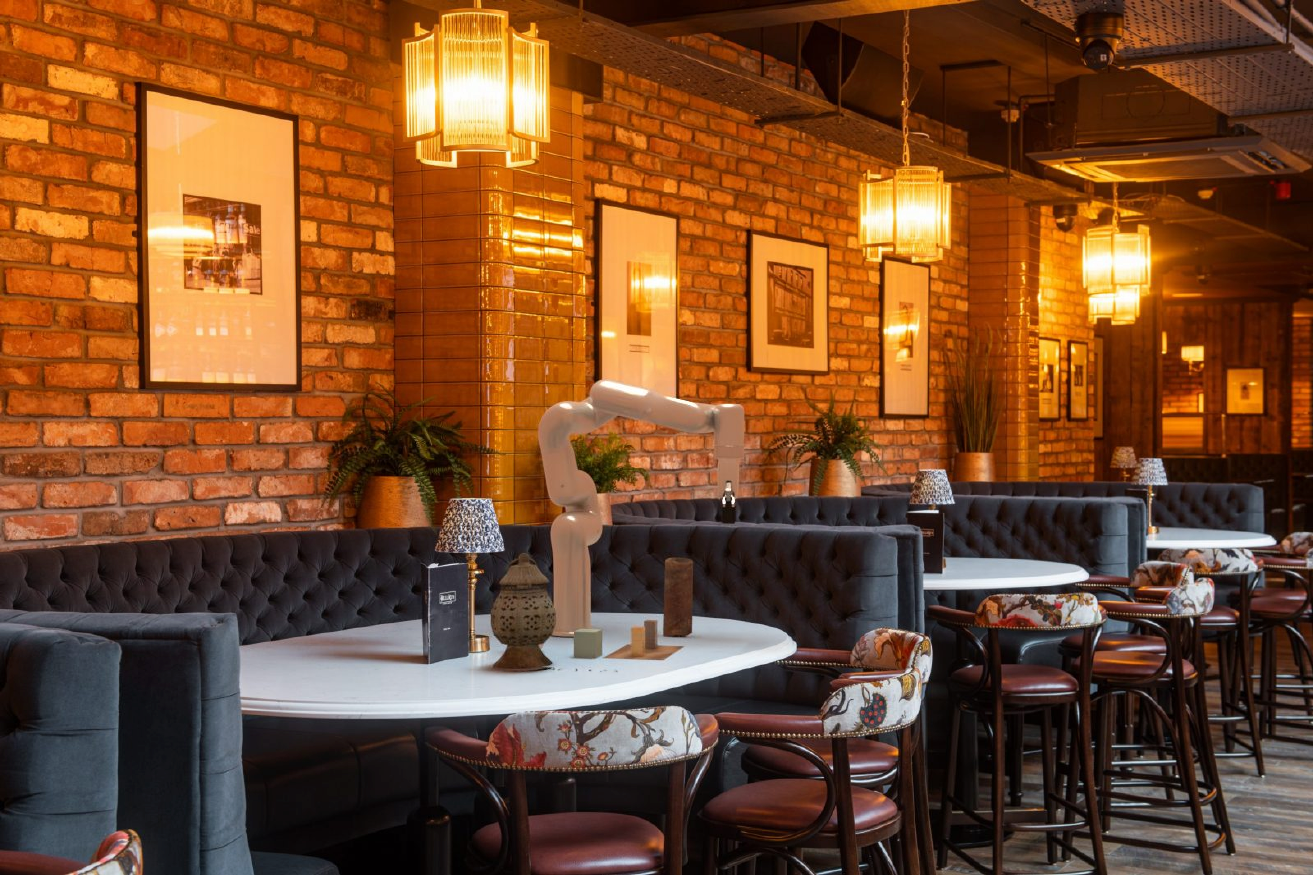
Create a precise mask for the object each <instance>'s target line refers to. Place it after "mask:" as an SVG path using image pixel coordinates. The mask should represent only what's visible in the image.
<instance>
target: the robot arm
mask: <svg viewBox="0 0 1313 875" xmlns="http://www.w3.org/2000/svg"><path fill="white" fill-rule="evenodd" d="M618 416H619V417H623V418H627V419H631V420H635V421H638V422H643V423H646V424H653V425H656V426H660V427H665V428H668V429H672V430H675V431H676V430H677V431H680V432H685V433H688V434H689V433H690V434H708V433H713V459H714V460H717V461H718V462H717V499H718V500H721V498H722V508H721V524H723V525H725V524H728V525H731V524H733V525H734V524H736V521H737V520H736V519H737V518H736V517H737V516H736V515H737V513H736V512H737V510H736V509H737V507H736V506H737V505H736V499H737V498H738V495H739V489H740V488H739V485H740V460H745V408H744V406H743V405H741V404H738V403H719V404H717V405H716V404H710V403H700V402H694V401H693V402H692V401H687V400H683V399H679V398H675V397H671V396H667V395H663V394H660V393H659V392H658V391H656V390H655V389H652V388H647V387H643V386H639V385H634V384H630V383H625V382H623V381H622V380H621V381H620V380H616V379H610V378H609V379H607V378H606V379H605V378H604V379H600V380H597V381H596V382H595V383H593V385H592V386H591V388H590V390H589V396H588V397H586V398H585V399H584V400H581V401H580V402H579V401H571V400H568V401H567V400H564V401H560V402H557V403H555V404H553V405H552V406H550V407H549V408H548V409H547V410H546V411H545V412H544V413H543V415H542V416H541V419H540V421H539V423H538V428H537V436H538V443H539V448H540V453H541V458H542V465H543V466H542V467H543V471H544V477H545V482H546V483H545V484H546V488H547V494H548V498H549V499H550V501H551V502H552V503H553V505H556V506H558V507H562V508H565V512H563V513H561V514H560V515H558V516H557V517H556V518H555V519H554V520H553V522H552V525H551V528H550V542H551V548H552V557H553V560H552V561H553V562H552V563H553V605H554V608H555V610H556V625H555V628H554V631H553V633H552V635H551V636H554V637H566V638H569V637H570V638H574V631H576V630H579V629H596V628H595V627H592V625H591V623H592V622H591V619H592V616H591V609H592V608H591V606H592V605H591V604H592V603H591V601H592V600H591V593H592V592H591V590H592V589H591V588H592V587H591V586H592V585H591V583H592V582H591V578H592V577H591V557H590V551H589V547H588V546H592V545H593V544H595V543H597V542H598V541H599V539H600V538H601V536H602V534H603V520H602V513H601V507H600V503H599V497H598V493H597V492H598V491H597V488H596V487H597V486H596V484H595V482H594V480H593V478H592V477H591V476H590V474H588V473H587V472H585V471H584V470H580V469H578V464H577V461H576V460H577V459H576V454H575V450H574V448H573V445H572V443H571V438H570V436H571V435H586V434H590V433H592V432H593V431H595V430H597V429H598V428H600V427H602V426H604V425H605V424H607V423H608V422H611V421H612V420H614V419H615V418H618Z"/></svg>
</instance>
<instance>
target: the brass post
mask: <svg viewBox="0 0 1313 875" xmlns="http://www.w3.org/2000/svg"><path fill="white" fill-rule="evenodd" d="M630 630H631V631H630V634H631V635H630V639H631V641H630V642H631V643H630V644H631V656H635V657H643V656H645V627H644V625H643V626H638V625H637V626H635V625H634V626H632V627H630Z"/></svg>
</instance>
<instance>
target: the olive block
mask: <svg viewBox="0 0 1313 875" xmlns="http://www.w3.org/2000/svg"><path fill="white" fill-rule="evenodd" d="M601 656H603V629H602V628H601V629H600V628H599V629H598V628H595V629H579V630H576V631H574V637H573V658H575V659H576V658H578V659H579V658H580V659H597V658H599V657H601Z"/></svg>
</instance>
